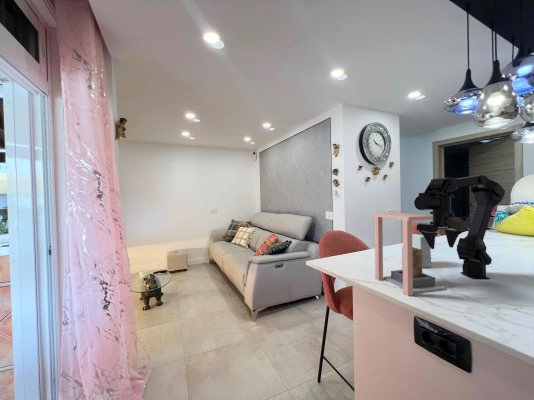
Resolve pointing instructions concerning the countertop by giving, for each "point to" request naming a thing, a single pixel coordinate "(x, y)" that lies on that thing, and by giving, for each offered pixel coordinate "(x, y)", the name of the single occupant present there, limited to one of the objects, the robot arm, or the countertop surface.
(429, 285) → the socket
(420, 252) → the walnut peg
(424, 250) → the skincare box
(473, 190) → the robot arm
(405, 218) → the pink arch frame
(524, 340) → the countertop surface
